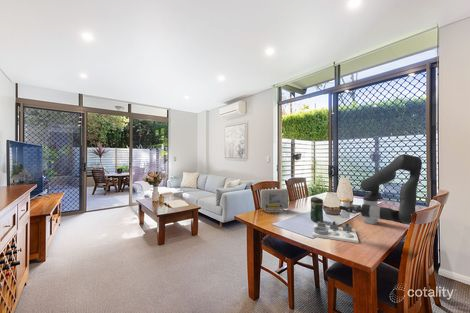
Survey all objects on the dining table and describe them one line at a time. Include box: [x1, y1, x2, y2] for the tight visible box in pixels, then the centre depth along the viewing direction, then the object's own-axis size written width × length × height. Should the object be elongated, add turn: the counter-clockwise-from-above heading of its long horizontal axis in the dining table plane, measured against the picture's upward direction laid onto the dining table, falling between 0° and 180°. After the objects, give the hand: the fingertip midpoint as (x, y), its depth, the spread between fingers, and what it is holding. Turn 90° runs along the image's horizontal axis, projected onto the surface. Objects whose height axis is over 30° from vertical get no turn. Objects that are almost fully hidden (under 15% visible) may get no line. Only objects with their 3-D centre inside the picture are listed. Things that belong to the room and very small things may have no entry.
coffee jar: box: [310, 196, 324, 223], centre depth 162 cm, size 10×8×19 cm
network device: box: [260, 188, 289, 213], centre depth 192 cm, size 26×9×20 cm, turn 94°
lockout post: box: [340, 197, 351, 220], centre depth 132 cm, size 5×5×12 cm
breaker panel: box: [311, 218, 359, 244], centre depth 136 cm, size 20×26×6 cm
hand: (340, 206), depth 133 cm, fingers closed on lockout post, 5 cm apart
